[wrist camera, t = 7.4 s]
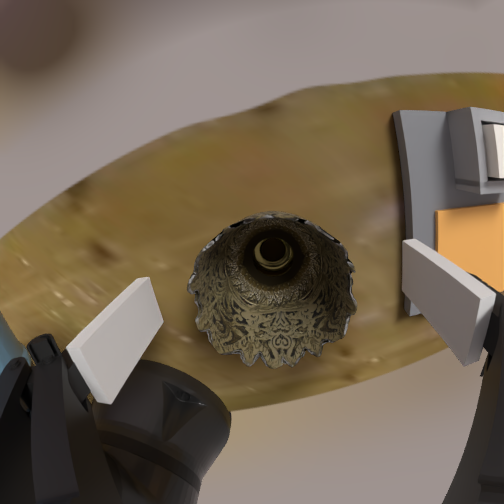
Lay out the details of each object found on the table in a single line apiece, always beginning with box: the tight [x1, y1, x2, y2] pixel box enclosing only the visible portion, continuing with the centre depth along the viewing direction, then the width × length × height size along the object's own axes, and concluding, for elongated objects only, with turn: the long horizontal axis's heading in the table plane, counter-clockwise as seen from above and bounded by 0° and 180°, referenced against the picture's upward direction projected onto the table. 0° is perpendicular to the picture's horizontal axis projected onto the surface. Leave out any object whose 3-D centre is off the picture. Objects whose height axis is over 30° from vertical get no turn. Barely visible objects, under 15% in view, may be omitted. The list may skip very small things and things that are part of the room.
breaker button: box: [482, 124, 504, 178], centre depth 13 cm, size 4×3×3 cm
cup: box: [187, 211, 357, 369], centre depth 16 cm, size 8×7×8 cm
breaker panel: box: [393, 107, 504, 316], centre depth 15 cm, size 14×15×4 cm
